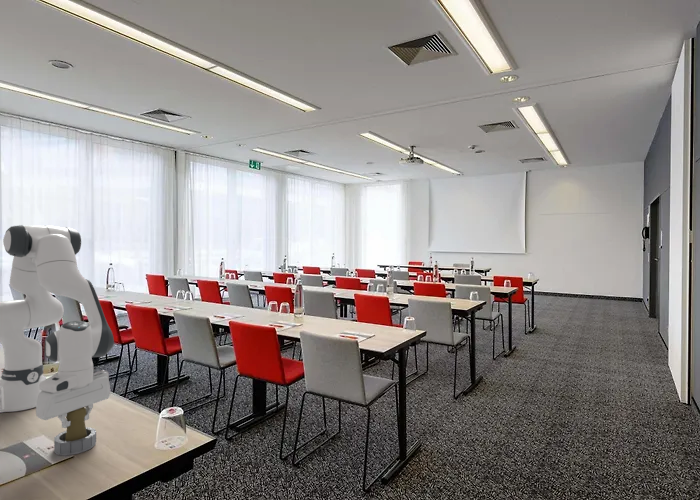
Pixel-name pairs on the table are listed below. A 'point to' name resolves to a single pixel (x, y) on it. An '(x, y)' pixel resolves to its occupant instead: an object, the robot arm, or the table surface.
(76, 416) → the cork
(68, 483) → the table surface
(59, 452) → the faceted grey ring
